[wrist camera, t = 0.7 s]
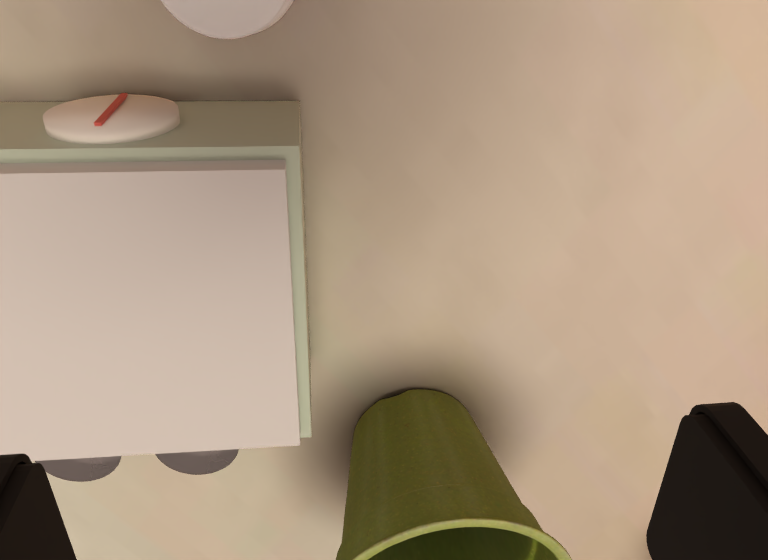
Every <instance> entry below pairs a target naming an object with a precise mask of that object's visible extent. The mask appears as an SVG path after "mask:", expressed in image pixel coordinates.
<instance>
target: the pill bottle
mask: <svg viewBox="0 0 768 560" xmlns="http://www.w3.org/2000/svg"><path fill="white" fill-rule="evenodd" d="M293 1H294V0H161V2H162V3H163V5H164V6H165V7H166V9H167V10H168V11H169V12H170V13H171V14H172V15H173V16H174V17H175V18H176V19H177V20H178V21H180V22H181V23H182V24H184V25H185V26H187V27H188V28H190V29H191V30H193V31H195V32H197V33H200V34H202V35H205V36H208V37H213V38H217V39H237V38H242V37H246V36H250V35H253V34H256V33H259V32H261V31H263V30H265V29H267V28H269V27H271V26H272V25H273V24H275V23H276V22H277V21H278V20H279V19H281V18H282V17H283V15H284V14H285V13H286V12H287V11H288V9H289V8H290V6H291V5H292V3H293Z"/></svg>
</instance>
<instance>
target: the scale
mask: <svg viewBox="0 0 768 560" xmlns="http://www.w3.org/2000/svg"><path fill="white" fill-rule="evenodd" d="M306 437H312V435H311V373H310V340H309V315H308V290H307V265H306V240H305V216H304V191H303V166H302V141H301V116H300V101H171V100H168V99H165V98H162V97H156V96H149V95H132V94H127V93H121V94H120V95H105V96H95V97H88V98H83V99H77V100H73V101H69V102H0V455H7V454H26V455H27V456H29V458H30V460H31V461H43V460H60V459H77V458H94V457H111V456H129V455H146V454H163V453H180V452H197V451H214V450H231V449H248V448H265V447H282V446H299V445H300V438H306Z"/></svg>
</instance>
